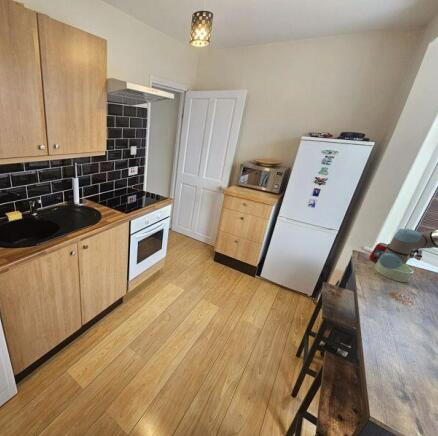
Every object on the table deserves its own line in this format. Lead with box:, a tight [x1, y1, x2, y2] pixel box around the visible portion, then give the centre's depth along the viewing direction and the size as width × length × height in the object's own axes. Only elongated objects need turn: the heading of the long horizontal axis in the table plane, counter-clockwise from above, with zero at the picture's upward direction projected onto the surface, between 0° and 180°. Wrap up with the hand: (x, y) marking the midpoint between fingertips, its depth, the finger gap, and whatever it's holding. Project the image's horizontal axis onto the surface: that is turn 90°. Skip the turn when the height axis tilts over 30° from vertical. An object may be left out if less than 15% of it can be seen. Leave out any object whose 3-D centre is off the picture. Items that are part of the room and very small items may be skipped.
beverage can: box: [368, 242, 389, 264], centre depth 145 cm, size 7×7×12 cm
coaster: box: [388, 291, 414, 306], centre depth 115 cm, size 9×9×1 cm
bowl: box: [373, 260, 415, 283], centre depth 133 cm, size 15×15×6 cm
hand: (412, 245), depth 128 cm, fingers closed on stirring pestle, 2 cm apart
